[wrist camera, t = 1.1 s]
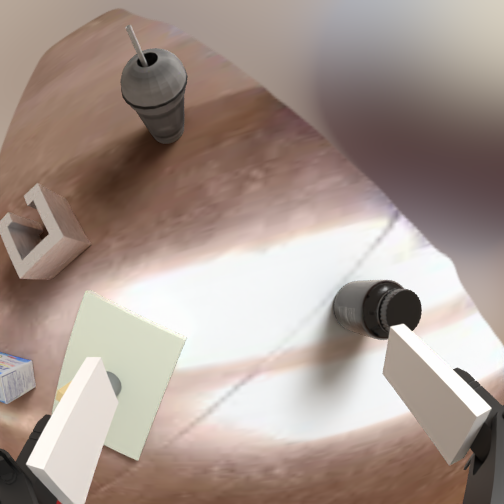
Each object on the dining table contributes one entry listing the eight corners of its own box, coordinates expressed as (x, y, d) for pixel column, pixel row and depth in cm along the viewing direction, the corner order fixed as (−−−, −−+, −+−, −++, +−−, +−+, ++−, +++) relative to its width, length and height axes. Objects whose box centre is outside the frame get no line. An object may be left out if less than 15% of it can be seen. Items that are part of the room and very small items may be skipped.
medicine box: (33, 360, 34) (0, 373, 25) (36, 387, 33) (6, 405, 25) (-2, 350, 33) (-35, 360, 24) (1, 376, 32) (-30, 390, 24)
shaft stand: (91, 290, 36) (45, 293, 24) (186, 337, 36) (173, 362, 25) (57, 409, 33) (17, 442, 21) (140, 453, 34) (120, 502, 22)
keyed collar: (66, 198, 36) (37, 182, 28) (91, 244, 36) (63, 236, 28) (28, 233, 35) (-3, 224, 27) (51, 279, 35) (19, 278, 27)
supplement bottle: (371, 333, 39) (421, 349, 27) (327, 326, 39) (369, 343, 27) (380, 285, 40) (433, 285, 28) (337, 275, 39) (383, 273, 27)
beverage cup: (177, 160, 38) (148, 66, 18) (133, 141, 38) (82, 50, 18) (203, 118, 39) (197, 12, 19) (160, 101, 39) (132, 0, 19)
